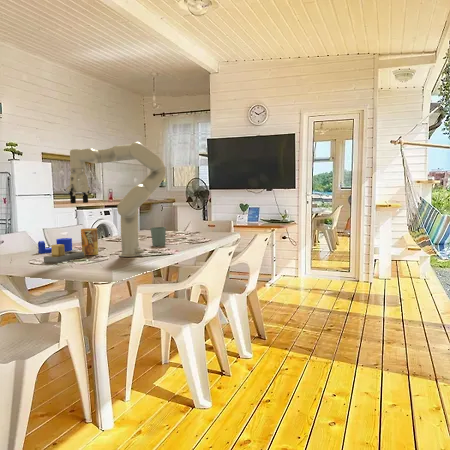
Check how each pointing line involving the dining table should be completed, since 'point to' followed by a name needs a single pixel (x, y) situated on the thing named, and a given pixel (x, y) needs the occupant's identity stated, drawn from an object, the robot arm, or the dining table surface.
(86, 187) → the robot arm
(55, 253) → the tan shipping carton
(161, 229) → the green cup
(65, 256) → the grey flat frame
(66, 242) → the bracket
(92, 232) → the candy box
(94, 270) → the dining table surface
